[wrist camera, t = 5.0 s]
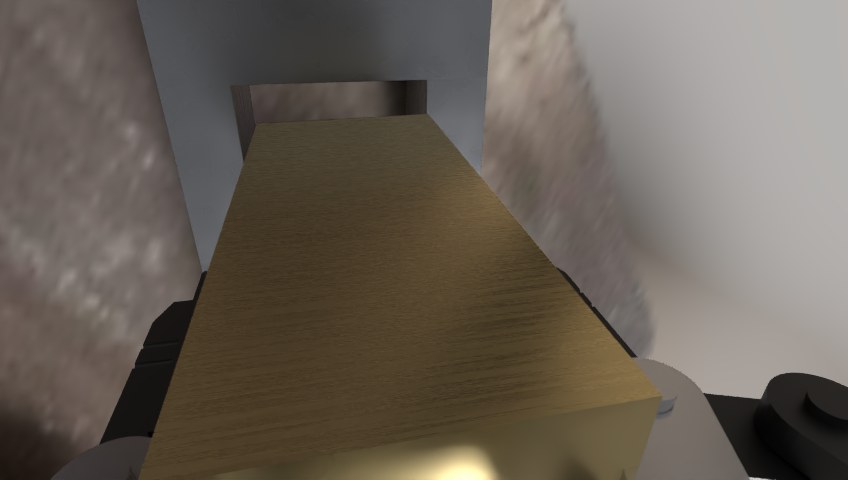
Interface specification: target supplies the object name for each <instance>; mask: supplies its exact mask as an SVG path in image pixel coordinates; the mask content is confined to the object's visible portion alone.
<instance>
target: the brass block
mask: <svg viewBox="0 0 848 480" xmlns="http://www.w3.org/2000/svg"><path fill="white" fill-rule="evenodd" d="M661 399H662V394H661V393H660V392H659V391H658V390H657V388H656V387H655V386H654V385H653V384H652V382H651V381H650V380H649V379H648V377H647V376H646V375H645V374H644V373H643V371H642V370H641V369H640V368H639V367H638V365H637V364H636V363H635V362H634V361H633V359H632V358H631V357H630V356H629V355H628V353H627V352H626V351H625V350H624V349H623V347H622V346H621V345H620V344H619V343H618V341H617V340H616V339H615V338H614V337H613V335H612V334H611V333H610V332H609V331H608V329H607V328H606V327H605V326H604V325H603V323H602V322H601V321H600V320H599V319H598V317H597V316H596V315H595V314H594V313H593V311H592V310H591V309H590V308H589V307H588V305H587V304H586V303H585V302H584V301H583V299H582V298H581V297H580V296H579V295H578V293H577V292H576V291H575V290H574V289H573V287H572V286H571V285H570V284H569V282H568V281H567V280H566V279H565V278H564V276H563V275H562V274H561V273H560V272H559V270H558V269H557V268H556V267H555V266H554V264H553V263H552V262H551V261H550V260H549V258H548V257H547V256H546V255H545V254H544V252H543V251H542V250H541V249H540V248H539V246H538V245H537V244H536V243H535V242H534V240H533V239H532V238H531V237H530V236H529V234H528V233H527V232H526V231H525V230H524V228H523V227H522V226H521V225H520V224H519V222H518V221H517V220H516V219H515V218H514V216H513V215H512V214H511V213H510V212H509V210H508V209H507V208H506V207H505V206H504V204H503V203H502V202H501V201H500V200H499V198H498V197H497V196H496V195H495V194H494V192H493V191H492V190H491V189H490V187H489V186H488V185H487V184H486V183H485V181H484V180H483V179H482V178H481V177H480V175H479V174H478V173H477V172H476V171H475V169H474V168H473V167H472V166H471V165H470V163H469V162H468V161H467V160H466V159H465V157H464V156H463V155H462V154H461V153H460V151H459V150H458V149H457V148H456V147H455V145H454V144H453V143H452V142H451V141H450V139H449V138H448V137H447V136H446V135H445V133H444V132H443V131H442V130H441V129H440V127H439V126H438V125H437V124H436V123H435V121H434V120H433V119H432V118H431V117H430V115H429V114H420V115H402V116H384V117H366V118H348V119H330V120H313V121H295V122H277V123H259V124H257V125H256V128H255V130H254V133H253V136H252V139H251V142H250V145H249V148H248V151H247V154H246V157H245V160H244V163H243V166H242V169H241V172H240V175H239V178H238V181H237V184H236V187H235V190H234V193H233V196H232V199H231V202H230V205H229V208H228V211H227V214H226V217H225V220H224V223H223V226H222V229H221V232H220V235H219V238H218V241H217V244H216V247H215V250H214V253H213V256H212V259H211V262H210V265H209V268H208V271H207V274H206V277H205V280H204V283H203V286H202V289H201V292H200V295H199V298H198V301H197V304H196V307H195V310H194V313H193V316H192V319H191V322H190V325H189V328H188V331H187V334H186V337H185V340H184V343H183V346H182V349H181V352H180V355H179V358H178V361H177V364H176V367H175V370H174V373H173V376H172V379H171V382H170V385H169V388H168V391H167V394H166V397H165V400H164V403H163V406H162V409H161V412H160V415H159V418H158V421H157V424H156V427H155V430H154V433H153V436H152V439H151V442H150V445H149V448H148V451H147V454H146V457H145V460H144V463H143V466H142V469H141V472H140V475H139V478H138V480H620V478H621V475H622V472H623V469H626V468H631V467H636V466H639V465H640V462H641V459H642V456H643V453H644V450H645V447H646V444H647V441H648V438H649V435H650V432H651V429H652V426H653V423H654V420H655V417H656V414H657V411H658V408H659V405H660V402H661Z"/></svg>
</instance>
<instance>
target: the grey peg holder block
mask: <svg viewBox="0 0 848 480" xmlns="http://www.w3.org/2000/svg"><path fill="white" fill-rule="evenodd" d="M136 2H137V6H138V10H139V14H140V18H141V22H142V26H143V31H144V35H145V39H146V43H147V47H148V51H149V55H150V59H151V63H152V67H153V71H154V76H155V80H156V84H157V88H158V92H159V96H160V100H161V104H162V108H163V112H164V116H165V121H166V125H167V129H168V133H169V137H170V141H171V145H172V149H173V153H174V157H175V162H176V166H177V170H178V174H179V178H180V182H181V186H182V190H183V194H184V198H185V202H186V207H187V211H188V215H189V219H190V223H191V227H192V231H193V235H194V239H195V243H196V247H197V252H198V256H199V260H200V264H201V268H202V272H204V271H208V268H209V265H210V262H211V259H212V256H213V253H214V250H215V247H216V244H217V241H218V238H219V235H220V232H221V229H222V226H223V223H224V220H225V217H226V214H227V211H228V208H229V205H230V202H231V199H232V196H233V193H234V190H235V187H236V184H237V181H238V178H239V175H240V172H241V169H242V166H243V163H244V160H245V157H246V154H247V151H248V148H249V145H250V142H251V139H252V136H253V133H254V130H255V121H254V115H253V109H252V102H251V96H250V90H249V85H257V84H291V83H326V82H360V81H394V80H406V104H407V115H420V114H429V115H430V117H431V118H432V119H433V120H434V121H435V123H436V124H437V125H438V126H439V127H440V129H441V130H442V131H443V132H444V133H445V135H446V136H447V137H448V138H449V139H450V141H451V142H452V143H453V144H454V145H455V147H456V148H457V149H458V150H459V151H460V153H461V154H462V155H463V156H464V157H465V159H466V160H467V161H468V162H469V163H470V165H471V166H472V167H473V168H474V169H475V171H476V172H477V173H478V174H479V175H480V177H481V161H482V146H483V131H484V116H485V101H486V86H487V71H488V56H489V41H490V26H491V11H492V0H136Z"/></svg>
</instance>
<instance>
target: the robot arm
mask: <svg viewBox="0 0 848 480" xmlns="http://www.w3.org/2000/svg"><path fill="white" fill-rule="evenodd" d="M556 268H557V267H556ZM557 269H558V270H559V272H560V273H561V274H562V275H563V276H564V278H565V279H566V280H567V281H568V282H569V284H570V285H571V286H572V287H573V289H574V290H575V291H576V292H577V293H578V295H579V296H580V297H581V298H582V299H583V301H584V302H585V303H586V304H587V305H588V307H589V308H590V309H591V310H592V311H593V313H594V314H595V315H596V316H597V317H598V319H599V320H600V321H601V322H602V323H603V325H604V326H605V327H606V328H607V329H608V331H609V332H610V333H611V334H612V335H613V337H614V338H615V339H616V340H617V341H618V343H619V344H620V345H621V346H622V347H623V349H624V350H625V351H626V352H627V353H628V355H629V356H630V357H631V358H632V359H633V361H634V362H635V363H636V364H637V365H638V367H639V368H640V369H641V370H642V371H643V373H644V374H645V375H646V376H647V377H648V379H649V380H650V381H651V382H652V384H653V385H654V386H655V387H656V388H657V390H658V391H659V392H660V393H661V394H662V399H661V402H660V405H659V408H658V411H657V414H656V417H655V420H654V423H653V426H652V429H651V432H650V435H649V438H648V441H647V444H646V447H645V450H644V453H643V456H642V459H641V462H640V465H639V466H636V467H631V468H626V469H623V472H622V475H621V478H620V480H848V387H846V386H844V385H841V384H839V383H837V382H834V381H832V380H829V379H826V378H823V377H819V376H815V375H810V374H804V373H785V374H780V375H778V376H776V377H774V378H773V379H771V380H770V382H769V383H768V386H767V387H766V389H765V392H764V394H763V396H762V398H761V399H752V398H742V397H733V396H724V395H714V394H705V393H703V392H702V391H701V389H700V388H699V387H698V386H697V385H696V384H695V383H694V382H693V381H692V380H691V379H690V378H688V377H687V376H686V375H684V374H683V373H681V372H680V371H678V370H676V369H674V368H673V367H670V366H668V365H666V364H664V363H660V362H657V361H655V360H650V359H645V358H638V357H637V356H636V355H635V354H634V353H633V351H632V350H631V349H630V348H629V347H628V345H627V344H626V343H625V342H624V341H623V340H622V338H621V337H620V336H619V335H618V334H617V332H616V331H615V330H614V329H613V328H612V327H611V325H610V324H609V323H608V322H607V321H606V320H605V318H604V317H603V316H602V315H601V314H600V312H599V311H598V310H597V309H596V308H595V307H592V305H591V302H590V301H589V299H588V298H587V297H586V296H585V295H584V294H583V293H580V289H579V288H578V287H577V285H576V284H575V283H574V282H573V281H572V279H571V278H570V277H569V276H568V275H567V274H566V273H565V272H564V271H562V270H560V269H559V268H557ZM206 274H207V271H204V272H203V273H202V275H201V278H200V281H199V284H198V287H197V290H196V293H195V296H194V298H193V300H189V301H180V302H174V303H173V304H172V305H171V306H169V307H168V308H167V309H166V310H165V311H164V312H163V313H162V314H161V315H160V316H159V317H158V318H157V319H156V320H155V321H154V322H153V323H152V326H151V328H150V330H149V332H148V335H147V337H146V339H145V341H144V344H143V349H141V351H140V353H139V355H138V357H137V360H136V362H135V368H134V369H132V371H131V373H130V376H129V378H128V380H127V382H126V385H125V387H124V389H123V391H122V394H121V396H120V398H119V401H118V403H117V405H116V407H115V410H114V412H113V414H112V416H111V419H110V421H109V423H108V426H107V428H106V430H105V432H104V435H103V437H102V439H101V442H100V444H99V445H98V446H96V447H93V448H92V449H90V450H88V451H86V452H84V453H82V454H81V455H79V456H78V457H76V458H75V459H73V460H72V461H70V462H69V463H68V464H67V465H65V466H64V467H63V468H61V469H60V470H59V471H58V472H57V473H56V474H55V475H54V476H53V477H52V478H51V479H50V480H138V478H139V475H140V472H141V469H142V466H143V463H144V460H145V457H146V454H147V451H148V448H149V445H150V442H151V439H152V436H153V433H154V430H155V427H156V424H157V421H158V418H159V415H160V412H161V409H162V406H163V403H164V400H165V397H166V394H167V391H168V388H169V385H170V382H171V379H172V376H173V373H174V370H175V367H176V364H177V361H178V358H179V355H180V352H181V349H182V346H183V343H184V340H185V337H186V334H187V331H188V328H189V325H190V322H191V319H192V316H193V313H194V310H195V307H196V304H197V301H198V298H199V295H200V292H201V289H202V286H203V283H204V280H205V277H206Z"/></svg>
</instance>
